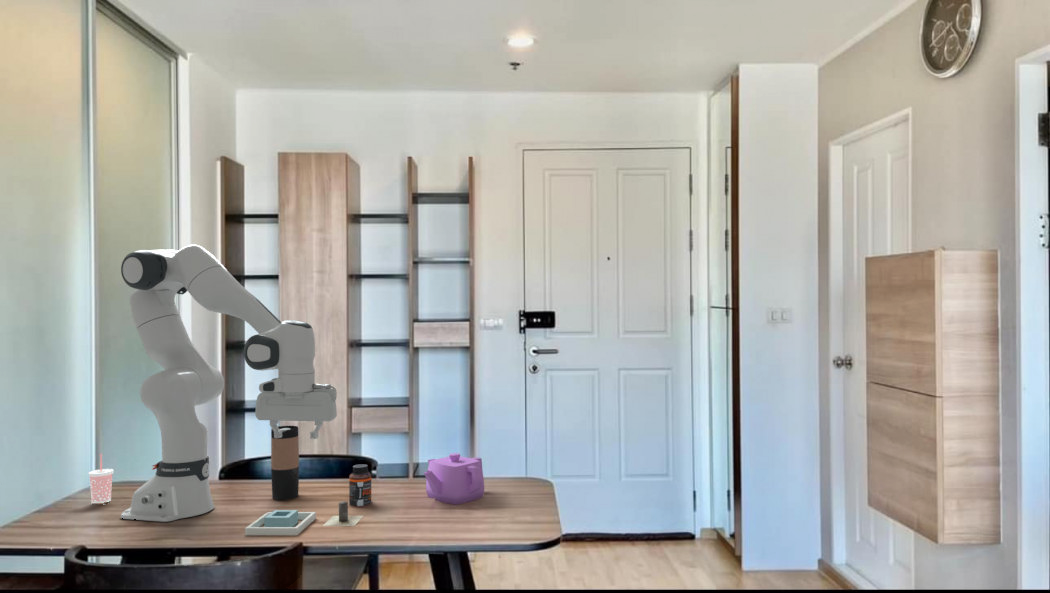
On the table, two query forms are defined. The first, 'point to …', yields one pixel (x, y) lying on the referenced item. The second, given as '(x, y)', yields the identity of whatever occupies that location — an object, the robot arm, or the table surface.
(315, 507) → the table surface
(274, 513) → the collar
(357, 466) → the supplement bottle
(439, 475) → the teakettle
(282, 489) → the travel mug
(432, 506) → the table surface
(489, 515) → the table surface
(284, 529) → the white square frame
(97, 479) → the beverage cup
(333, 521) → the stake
